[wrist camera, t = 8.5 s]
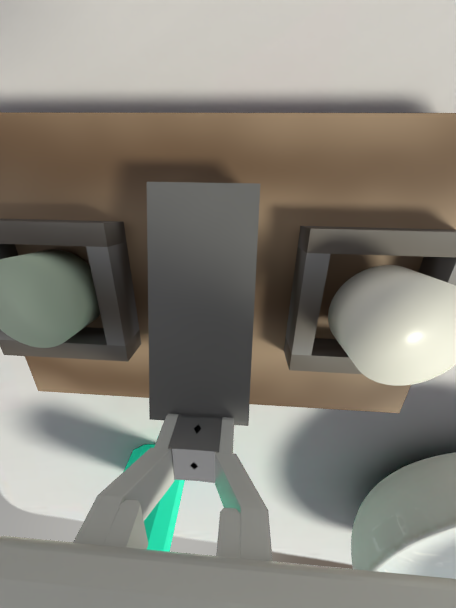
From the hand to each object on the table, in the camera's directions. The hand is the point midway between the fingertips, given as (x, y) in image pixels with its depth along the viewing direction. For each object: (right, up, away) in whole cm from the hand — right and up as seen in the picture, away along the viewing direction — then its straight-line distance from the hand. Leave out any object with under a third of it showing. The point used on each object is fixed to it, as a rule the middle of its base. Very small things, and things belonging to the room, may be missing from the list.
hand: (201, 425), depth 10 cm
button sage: (-8, +6, +2) cm, 10 cm away
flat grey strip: (0, +5, +1) cm, 5 cm away
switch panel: (0, +7, +5) cm, 9 cm away
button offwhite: (+8, +5, 0) cm, 10 cm away
